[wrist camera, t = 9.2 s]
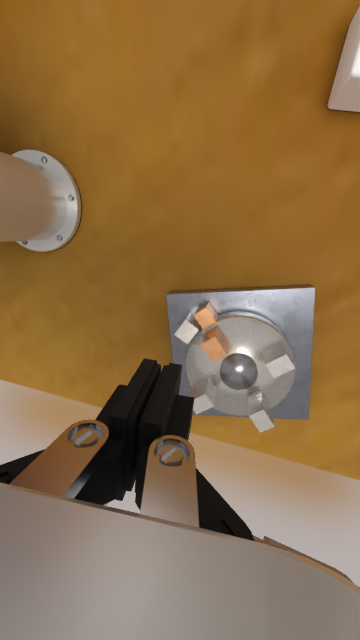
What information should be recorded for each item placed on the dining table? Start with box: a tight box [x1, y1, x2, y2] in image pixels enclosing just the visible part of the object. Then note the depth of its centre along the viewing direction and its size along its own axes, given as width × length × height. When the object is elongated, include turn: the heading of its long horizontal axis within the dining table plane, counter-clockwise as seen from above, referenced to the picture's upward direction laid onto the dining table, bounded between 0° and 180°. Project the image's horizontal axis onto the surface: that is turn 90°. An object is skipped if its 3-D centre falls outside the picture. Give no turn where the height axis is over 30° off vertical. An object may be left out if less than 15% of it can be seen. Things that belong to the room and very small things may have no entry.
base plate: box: [166, 285, 315, 420], centre depth 37 cm, size 18×18×6 cm
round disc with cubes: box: [186, 302, 295, 432], centre depth 34 cm, size 15×13×7 cm
